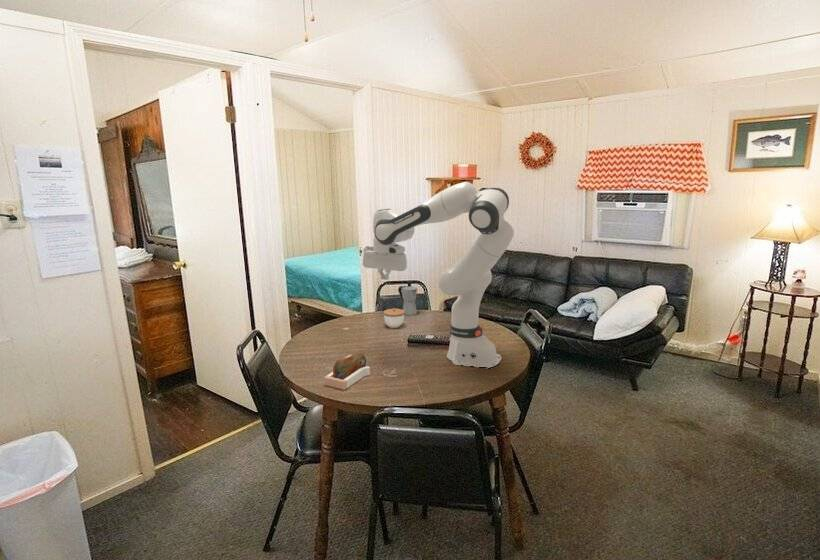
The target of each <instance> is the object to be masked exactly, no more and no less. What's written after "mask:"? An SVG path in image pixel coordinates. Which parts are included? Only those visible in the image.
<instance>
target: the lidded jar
mask: <svg viewBox="0 0 820 560" xmlns="http://www.w3.org/2000/svg"><path fill="white" fill-rule="evenodd" d="M404 313H405V312H404V310H403V308H402V309H401V308H395V307H393V308H387V309H385V310H384V311H383V320H384V323H385V324H386V325H387V327H388V328H391V329H396V328H400V327H401V326H402V325H403V323H404V321H405V315H404Z"/></svg>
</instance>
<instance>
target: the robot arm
mask: <svg viewBox="0 0 820 560" xmlns="http://www.w3.org/2000/svg"><path fill="white" fill-rule="evenodd" d="M509 205H510V198H509V195H508V193H507V192H506V191H505V190H504V189H502V188H500V187H482V188H480V189H479V190H477V188H476V186H475V185H474V184H473V183H471V182H469V181H462V182H459V183H456V184H453V185H451V186H449V187H446V188H445V189H443V190H441V191H439V192H438V193H436V194H434V195H433V196H431V197H429V198H428V199H427V200H425V201H423V202H422V203H421V204H419V205H417V206H416V207H414V208H411V209H410V210H408V211H405V212H403V213H402V214H400V215H399V214H398V213H396V212H395V211H394V209H392V208H384V209H378V210H376V211H375V212H374V214H373V220H372V229H373V230H372V231H373V240H372V241H373V242H372V243H373V246H369V245H367V246H365V247H364V248H363V251H362V252H363V255H362V266H363V267H364V268H366V269H367V268H368V269H377V272H378V274H379V275H380V280H384V281H386V280H387V281H388V280H389V278H390V277H389V276H390V274H391V272H392V271H396V272H403V271H406V270H407V268H408V261H407V260H408V259H407V255H406V254H405V251H406V248H405V246H403V245H400V244H399V243H401V242H404V241H406V242H407V241H408V240H410V239H412V238H413V236H414V233H415V227H418V226H421V225H427V224H436V223H443V222H444V223H445V222H447V221H450V220H453V219H456V218H458V216H461V215H462V214H465V213H468V220H469V223H470V224H471V225H472V226H473V228H474V229H476V230H477V231H479V233H480V234H479V236H478V238H477V239H476V240H475V242H474V243H473V245H472V246H471V247H470V248H469V250H468V251H467V252H466V253H465V254H464V255H463V256H462V257H461V258H459V259H458V260H457V261H456V262H455V263H453V265H451V266H450V267H449V268H448V269H446V270H444V271H443V272H441V273H440V275H439V277H438V282H437V283H438V287H439V289H440V291H441V292H442V293H443V295H446V296H458V297H457V299H456V300H455V301H454V303H453V304H452V306H451V311H450V312H451V316H450V317H451V323H450V326H449V337H450V339H449V340H450V341H449V346H448V351H447V354H446V358H447V359H448V360H450V361H451V362H452V364H453V365H455V366H461V365H463V366H464V367H470V366H474V367H473V368H479V367H488V368H489V367H493V366H495V365H497V364H498V363H499V362H500V360H501V361H502V356H501V355H500V354H499V353H497V349H496V345H495V344H494V343H493V342H492V341H491V340H490V339H488V338H487V337H486V336H485V335H484V334H483V332H484V331H483V330H484V326H482V327H481V326H480V324H479V313H480V305H481V302H482V298H483V296H484V293H485V291H486V289H487V288H488V287H489V285H491V283H492V277H493V276H492V268H494V266H495V265H496V264H497V262H498V261H499V260H500V259H501V257H502V256H503V255H504V253H505V252H506V250H507V249H508V247H509V246H510V243H511V242H512V240H513V238H514V235H515V233H514V232H515V231H514V228H513V226H512V225H511V224H510V223H509V222H507V221H506V220H505V218H504V215H505V213H506V211H507V210H508V208H509ZM384 270H385V273H384ZM498 357H500V358H498ZM500 363H501V362H500ZM463 366H462V367H463ZM488 368H487V369H488Z"/></svg>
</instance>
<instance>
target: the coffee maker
mask: <svg viewBox="0 0 820 560" xmlns="http://www.w3.org/2000/svg"><path fill="white" fill-rule="evenodd" d="M406 284H407V285H403V286H398V289H397V291H398V294H399V296H400V299H401V300H403V305H402V310H404V312H405V313H404V316H408V317H410V316H415V315H417V314H418V313H417V307H416V299H417V294H418V287H416V286H412V281H407V282H406Z"/></svg>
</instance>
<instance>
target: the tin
mask: <svg viewBox="0 0 820 560" xmlns="http://www.w3.org/2000/svg"><path fill="white" fill-rule="evenodd" d="M363 367H367V359H366V356H365V355H364V353H361V352H360V353H359V352H353V353H351V354H348V355H345V356H344V357H342V358H339V359H337V360H336V361H335V363H334V365H333V368H332V372H333V375H334V377H335V378H338V379H342V380H344V379H345V378H347V377H348V376H350V375H351V374H353V373H354V372H356V371H357V370H358V369H360V368H363Z"/></svg>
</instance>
